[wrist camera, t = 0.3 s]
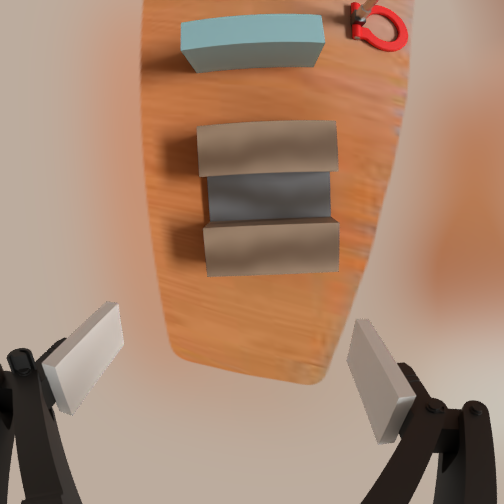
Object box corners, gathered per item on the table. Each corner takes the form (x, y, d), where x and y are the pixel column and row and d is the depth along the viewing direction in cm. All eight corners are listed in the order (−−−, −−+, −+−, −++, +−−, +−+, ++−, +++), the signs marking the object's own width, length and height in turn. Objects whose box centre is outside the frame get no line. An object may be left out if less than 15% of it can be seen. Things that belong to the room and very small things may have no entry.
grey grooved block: (206, 132, 39) (196, 126, 33) (325, 128, 38) (335, 120, 32) (214, 262, 43) (207, 276, 37) (329, 258, 42) (338, 271, 37)
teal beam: (196, 73, 37) (180, 50, 28) (196, 49, 36) (181, 22, 27) (313, 67, 36) (325, 42, 27) (310, 43, 35) (321, 15, 26)
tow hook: (402, 16, 33) (348, 1, 32) (441, -18, 20) (377, -42, 20) (406, 58, 35) (350, 44, 34) (452, 31, 22) (384, 5, 22)
